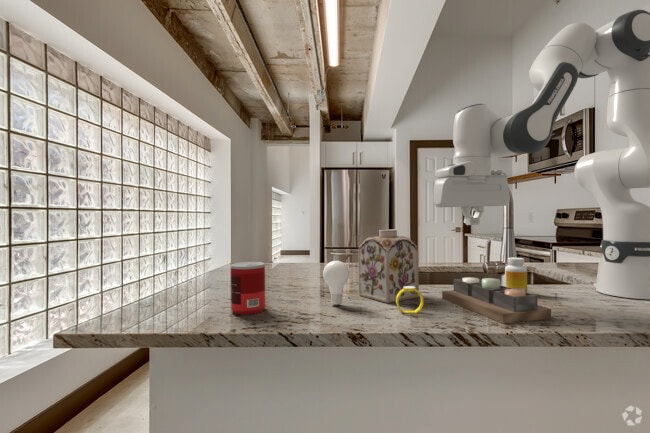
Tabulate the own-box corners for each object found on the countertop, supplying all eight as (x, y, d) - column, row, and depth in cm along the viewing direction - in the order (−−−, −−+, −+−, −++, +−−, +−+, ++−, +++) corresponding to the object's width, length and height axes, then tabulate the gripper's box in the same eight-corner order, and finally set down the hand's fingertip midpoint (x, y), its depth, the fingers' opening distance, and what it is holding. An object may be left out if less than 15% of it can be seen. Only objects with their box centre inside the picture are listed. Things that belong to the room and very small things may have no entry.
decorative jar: (420, 297, 99) (419, 229, 99) (387, 304, 93) (387, 231, 93) (388, 289, 109) (387, 228, 109) (357, 295, 103) (356, 229, 102)
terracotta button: (515, 302, 84) (515, 288, 83) (529, 306, 80) (529, 292, 80) (500, 303, 82) (500, 289, 82) (514, 308, 79) (514, 293, 79)
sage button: (492, 290, 91) (492, 277, 91) (504, 293, 87) (504, 280, 87) (478, 291, 90) (478, 278, 90) (489, 294, 86) (489, 281, 86)
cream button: (472, 288, 98) (472, 277, 98) (482, 291, 94) (482, 279, 94) (459, 289, 97) (459, 277, 97) (468, 292, 93) (468, 280, 93)
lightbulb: (353, 303, 94) (352, 259, 93) (343, 310, 88) (343, 263, 88) (329, 301, 96) (329, 258, 96) (319, 307, 91) (318, 261, 90)
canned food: (271, 307, 91) (270, 262, 91) (254, 316, 84) (253, 267, 83) (243, 305, 94) (242, 261, 93) (224, 313, 86) (223, 265, 86)
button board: (482, 295, 101) (481, 277, 100) (551, 318, 79) (551, 294, 79) (442, 298, 97) (442, 279, 97) (503, 323, 76) (503, 299, 76)
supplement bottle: (530, 296, 99) (530, 259, 99) (508, 295, 100) (508, 259, 100) (523, 292, 104) (523, 257, 104) (502, 291, 105) (502, 256, 105)
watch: (398, 315, 84) (396, 289, 84) (396, 312, 87) (394, 286, 86) (425, 313, 84) (423, 287, 84) (422, 310, 86) (420, 284, 86)
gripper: (498, 171, 101) (498, 223, 101) (429, 171, 95) (430, 225, 96) (515, 169, 95) (516, 223, 95) (443, 168, 89) (444, 226, 90)
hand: (472, 224), depth 95 cm, fingers closed
